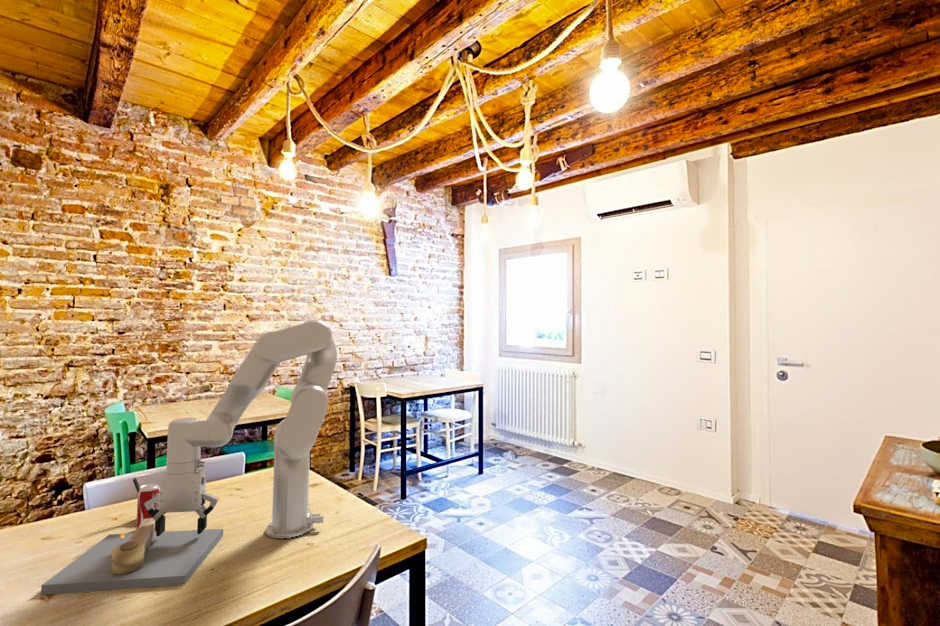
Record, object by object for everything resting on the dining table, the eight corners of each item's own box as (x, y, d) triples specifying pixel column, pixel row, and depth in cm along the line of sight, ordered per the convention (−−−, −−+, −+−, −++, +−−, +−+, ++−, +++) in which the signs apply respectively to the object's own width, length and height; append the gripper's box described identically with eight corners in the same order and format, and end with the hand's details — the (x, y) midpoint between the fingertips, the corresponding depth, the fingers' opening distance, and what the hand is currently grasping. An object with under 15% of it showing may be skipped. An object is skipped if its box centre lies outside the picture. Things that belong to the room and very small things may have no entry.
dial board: (223, 536, 126) (223, 528, 126) (184, 584, 103) (185, 575, 103) (108, 542, 122) (109, 534, 122) (41, 594, 98) (41, 584, 98)
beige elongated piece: (163, 531, 123) (164, 512, 123) (139, 571, 104) (140, 548, 104) (137, 534, 121) (137, 515, 121) (106, 576, 101) (107, 553, 102)
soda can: (147, 534, 126) (149, 490, 127) (131, 532, 128) (133, 488, 128) (163, 526, 132) (165, 483, 132) (148, 524, 133) (149, 482, 133)
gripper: (224, 461, 126) (221, 524, 125) (154, 463, 123) (151, 528, 122) (213, 469, 118) (211, 537, 118) (139, 472, 115) (136, 541, 115)
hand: (180, 532), depth 120 cm, fingers open, 9 cm apart
